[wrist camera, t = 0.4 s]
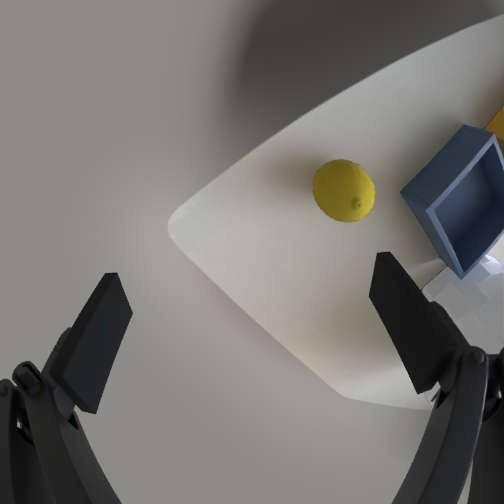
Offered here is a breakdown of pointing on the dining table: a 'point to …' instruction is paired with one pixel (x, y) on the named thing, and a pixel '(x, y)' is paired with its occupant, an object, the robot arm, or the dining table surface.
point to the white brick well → (472, 305)
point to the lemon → (343, 190)
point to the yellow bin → (498, 128)
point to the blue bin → (461, 198)
